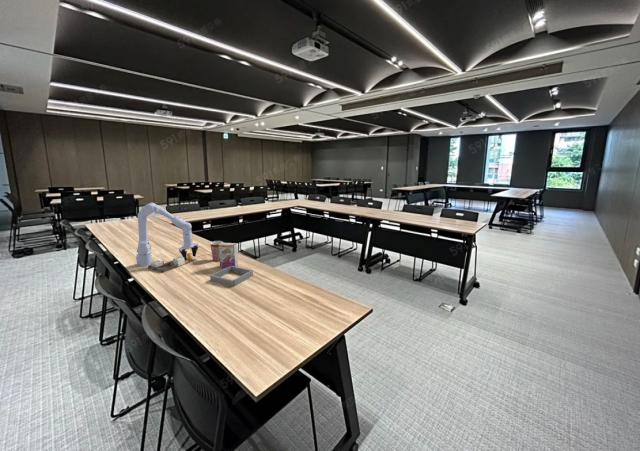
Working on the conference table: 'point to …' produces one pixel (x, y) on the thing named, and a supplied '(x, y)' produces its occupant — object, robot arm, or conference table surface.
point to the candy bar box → (228, 254)
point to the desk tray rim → (218, 279)
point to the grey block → (156, 263)
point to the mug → (215, 250)
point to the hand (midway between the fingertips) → (189, 257)
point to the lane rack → (167, 266)
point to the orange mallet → (182, 259)
